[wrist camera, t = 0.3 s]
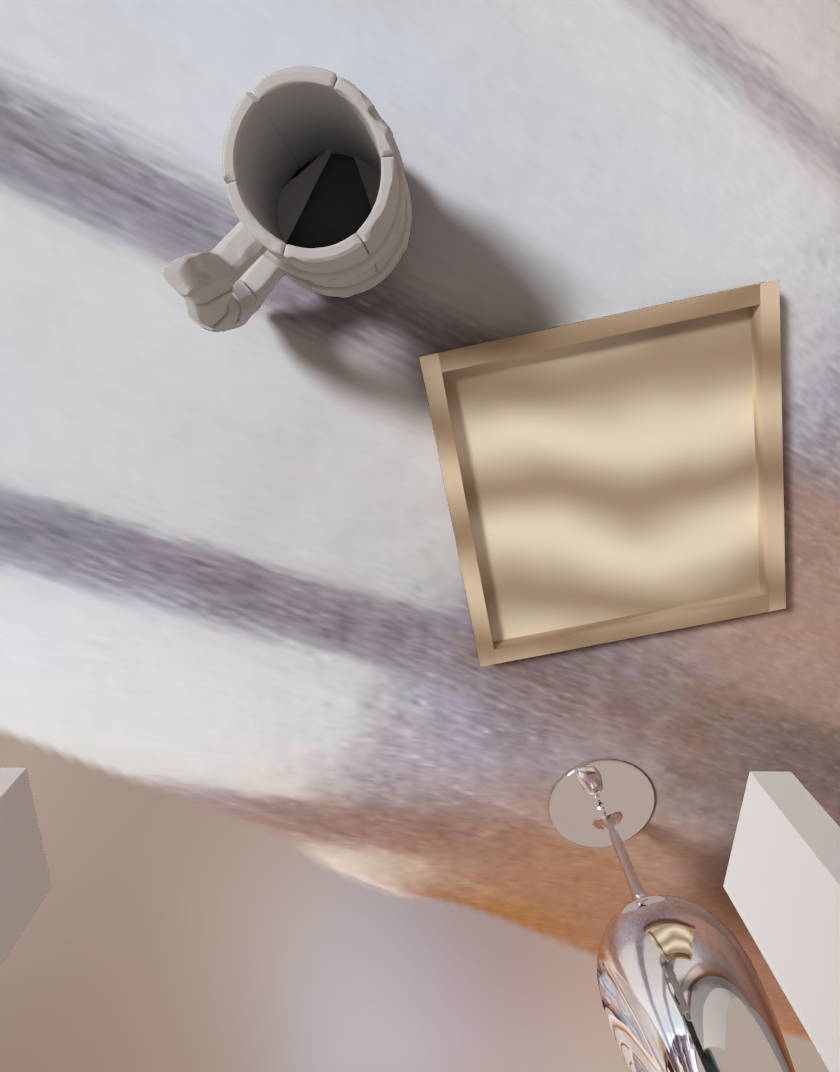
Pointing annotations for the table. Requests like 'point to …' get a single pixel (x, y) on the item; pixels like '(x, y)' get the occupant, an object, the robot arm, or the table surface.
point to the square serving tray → (616, 473)
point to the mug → (296, 199)
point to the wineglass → (665, 949)
